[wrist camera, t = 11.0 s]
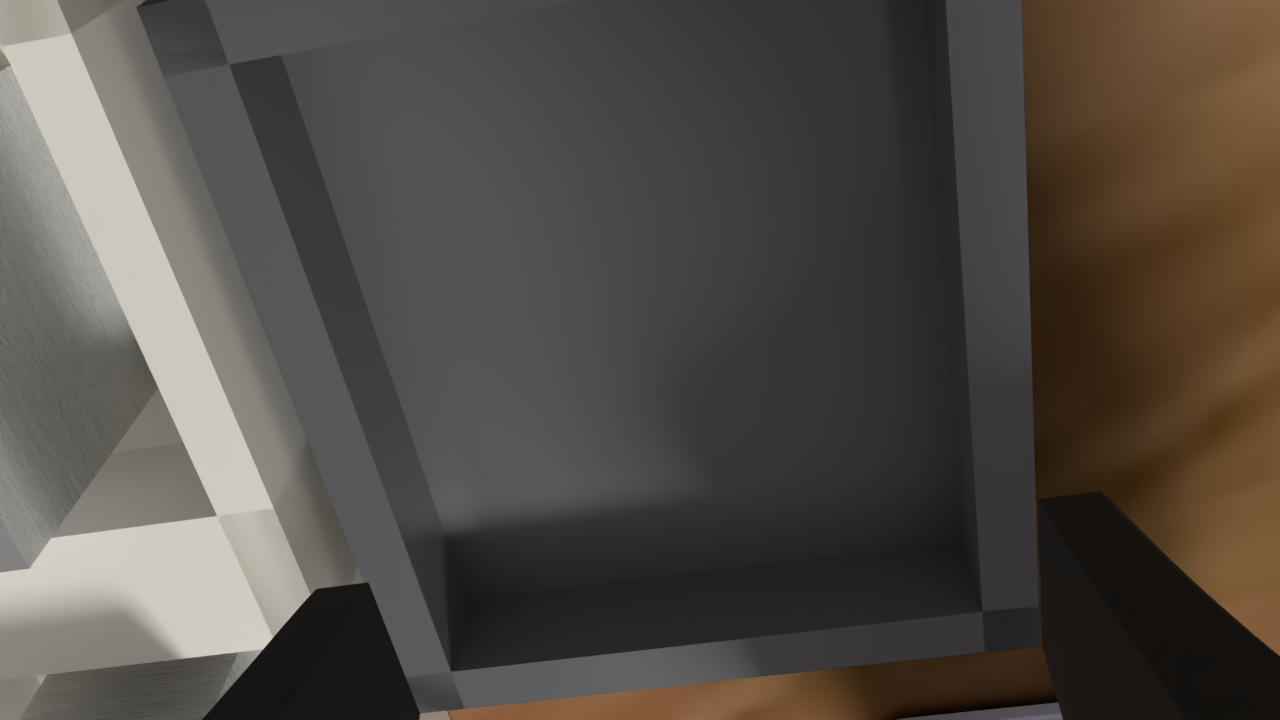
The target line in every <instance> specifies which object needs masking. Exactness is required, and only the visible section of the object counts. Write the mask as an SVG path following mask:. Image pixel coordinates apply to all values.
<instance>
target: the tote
mask: <svg viewBox="0 0 1280 720" xmlns="http://www.w3.org/2000/svg"><path fill="white" fill-rule="evenodd" d="M136 8H137V11H138V13H139V16H140V19H141V21H142V24H143V26H144V29H145V31H146V34H147V36H148V39H149V41H150V44H151V46H152V49H153V51H154V54H155V56H156V59H157V62H158V64H159V67H160V69H161V72H162V74H163V77H164V79H165V82H166V84H167V87H168V89H169V92H170V94H171V97H172V99H173V102H174V105H175V107H176V110H177V112H178V115H179V117H180V120H181V122H182V125H183V127H184V130H185V132H186V135H187V137H188V140H189V142H190V145H191V148H192V150H193V153H194V155H195V158H196V160H197V163H198V165H199V168H200V170H201V173H202V175H203V178H204V180H205V183H206V185H207V188H208V191H209V193H210V196H211V198H212V201H213V203H214V206H215V208H216V211H217V213H218V216H219V218H220V221H221V223H222V226H223V229H224V231H225V234H226V236H227V239H228V241H229V244H230V246H231V249H232V251H233V254H234V256H235V259H236V261H237V264H238V266H239V269H240V272H241V274H242V277H243V279H244V282H245V284H246V287H247V289H248V292H249V294H250V297H251V299H252V302H253V304H254V307H255V309H256V312H257V315H258V317H259V320H260V322H261V325H262V327H263V330H264V332H265V335H266V337H267V340H268V342H269V345H270V347H271V350H272V352H273V355H274V358H275V360H276V363H277V365H278V368H279V370H280V373H281V375H282V378H283V380H284V383H285V385H286V388H287V390H288V393H289V396H290V398H291V401H292V403H293V406H294V408H295V411H296V413H297V416H298V418H299V421H300V423H301V426H302V428H303V431H304V433H305V436H306V439H307V441H308V444H309V446H310V449H311V451H312V454H313V456H314V459H315V461H316V464H317V466H318V469H319V471H320V474H321V476H322V479H323V482H324V484H325V487H326V489H327V492H328V494H329V497H330V499H331V502H332V504H333V507H334V509H335V512H336V514H337V517H338V519H339V522H340V525H341V527H342V530H343V532H344V535H345V537H346V540H347V542H348V545H349V547H350V550H351V552H352V555H353V557H354V560H355V563H356V565H357V568H358V570H359V573H360V575H361V578H362V580H363V583H367V582H369V585H370V587H371V590H372V592H373V595H374V597H375V600H376V603H377V605H378V608H379V610H380V613H381V615H382V618H383V620H384V623H385V626H386V628H387V631H388V633H389V636H390V638H391V641H392V643H393V646H394V648H395V651H396V654H397V656H398V659H399V661H400V664H401V666H402V669H403V671H404V674H405V676H406V679H407V682H408V684H409V687H410V689H411V692H412V694H413V697H414V699H415V702H416V705H417V707H418V710H419V712H420V713H429V712H439V711H448V710H457V709H466V708H475V707H485V706H494V705H503V704H512V703H521V702H530V701H540V700H549V699H558V698H567V697H576V696H586V695H595V694H604V693H613V692H622V691H632V690H641V689H650V688H659V687H668V686H677V685H687V684H696V683H705V682H714V681H723V680H733V679H742V678H751V677H760V676H769V675H778V674H788V673H797V672H806V671H815V670H824V669H834V668H843V667H852V666H861V665H870V664H879V663H889V662H898V661H907V660H916V659H925V658H935V657H944V656H953V655H962V654H971V653H981V652H990V651H999V650H1008V649H1017V648H1026V647H1036V646H1040V625H1039V590H1038V555H1037V521H1036V486H1035V451H1034V416H1033V381H1032V347H1031V312H1030V277H1029V242H1028V207H1027V173H1026V138H1025V103H1024V68H1023V33H1022V0H146V1H145V2H143V3H142V4H140V5H139V6H137V7H136Z"/></svg>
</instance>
